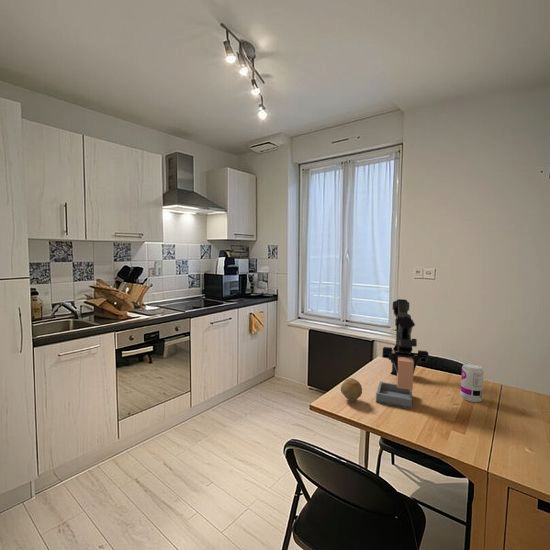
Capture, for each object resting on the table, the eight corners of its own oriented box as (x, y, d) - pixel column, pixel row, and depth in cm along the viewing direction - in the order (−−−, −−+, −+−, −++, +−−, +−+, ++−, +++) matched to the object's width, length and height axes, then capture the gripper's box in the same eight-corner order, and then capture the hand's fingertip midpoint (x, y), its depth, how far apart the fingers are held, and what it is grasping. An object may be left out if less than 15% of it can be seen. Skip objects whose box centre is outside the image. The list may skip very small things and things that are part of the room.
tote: (376, 402, 138) (376, 393, 137) (379, 389, 150) (379, 381, 150) (411, 409, 132) (411, 399, 132) (411, 395, 145) (412, 387, 144)
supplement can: (460, 400, 141) (462, 367, 140) (459, 393, 148) (461, 361, 147) (482, 404, 137) (484, 370, 136) (480, 397, 144) (482, 364, 143)
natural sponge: (336, 401, 138) (337, 378, 138) (346, 394, 145) (347, 373, 144) (355, 408, 132) (356, 384, 132) (365, 400, 139) (366, 378, 138)
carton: (396, 382, 143) (397, 356, 142) (411, 384, 141) (412, 357, 140) (397, 387, 137) (398, 360, 136) (412, 389, 135) (413, 362, 134)
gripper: (383, 329, 144) (383, 361, 134) (429, 333, 138) (431, 366, 128) (382, 341, 152) (382, 372, 142) (425, 345, 146) (428, 378, 137)
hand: (405, 372), depth 137 cm, fingers closed on carton, 6 cm apart
